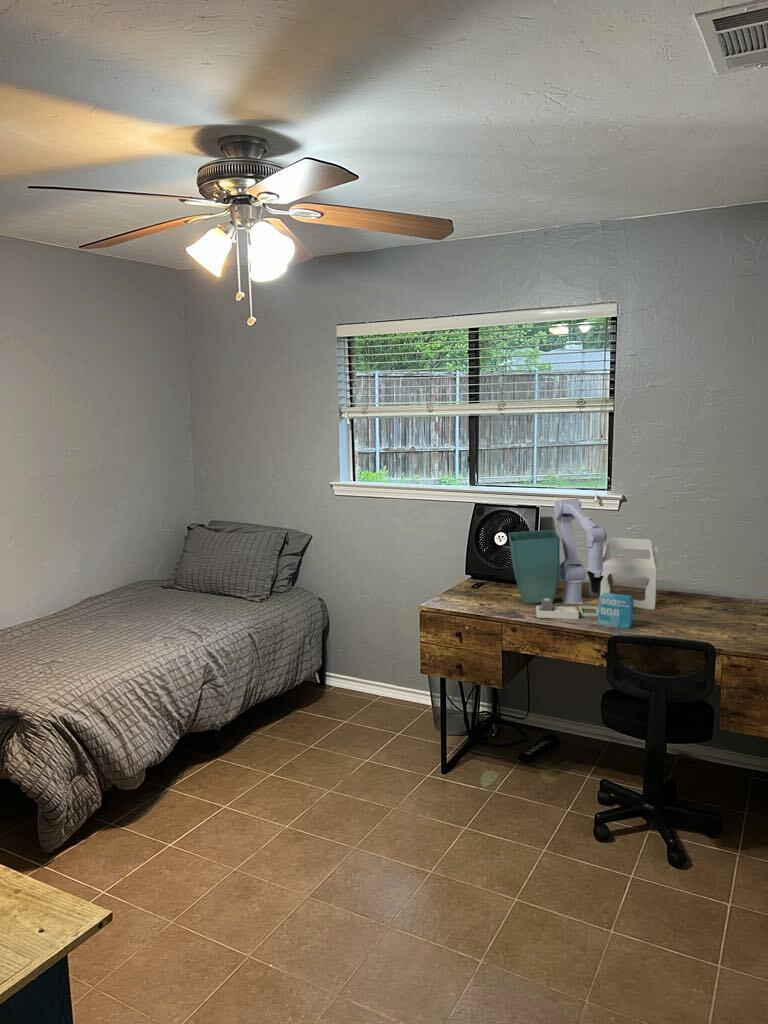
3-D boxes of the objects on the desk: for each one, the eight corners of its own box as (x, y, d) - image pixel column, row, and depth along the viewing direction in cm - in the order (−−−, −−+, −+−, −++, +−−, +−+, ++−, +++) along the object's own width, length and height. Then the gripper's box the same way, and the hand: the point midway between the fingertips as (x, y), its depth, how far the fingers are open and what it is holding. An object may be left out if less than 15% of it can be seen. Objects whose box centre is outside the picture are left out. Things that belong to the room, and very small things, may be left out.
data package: (597, 625, 288) (598, 595, 286) (600, 622, 292) (601, 592, 290) (630, 629, 283) (631, 598, 281) (632, 626, 287) (633, 595, 285)
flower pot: (511, 594, 335) (508, 532, 331) (557, 592, 332) (554, 529, 328) (514, 607, 315) (510, 540, 311) (563, 604, 313) (560, 537, 308)
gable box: (656, 601, 320) (659, 536, 316) (655, 609, 308) (658, 542, 304) (602, 597, 328) (604, 533, 324) (599, 605, 316) (601, 539, 312)
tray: (578, 609, 310) (578, 605, 310) (606, 609, 308) (606, 606, 308) (581, 616, 299) (581, 613, 299) (609, 617, 298) (609, 614, 297)
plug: (588, 593, 305) (589, 577, 304) (598, 593, 304) (599, 578, 303) (589, 595, 301) (590, 580, 300) (600, 596, 300) (600, 580, 299)
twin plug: (541, 613, 303) (541, 597, 302) (551, 613, 302) (551, 598, 301) (541, 616, 299) (542, 600, 298) (552, 616, 299) (552, 600, 298)
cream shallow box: (535, 612, 305) (536, 603, 305) (576, 614, 303) (576, 605, 302) (536, 618, 298) (537, 609, 297) (578, 620, 295) (578, 610, 295)
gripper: (583, 553, 308) (582, 585, 310) (587, 561, 294) (586, 595, 296) (601, 553, 307) (599, 586, 309) (605, 561, 293) (604, 595, 295)
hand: (594, 590), depth 302 cm, fingers closed on plug, 4 cm apart
